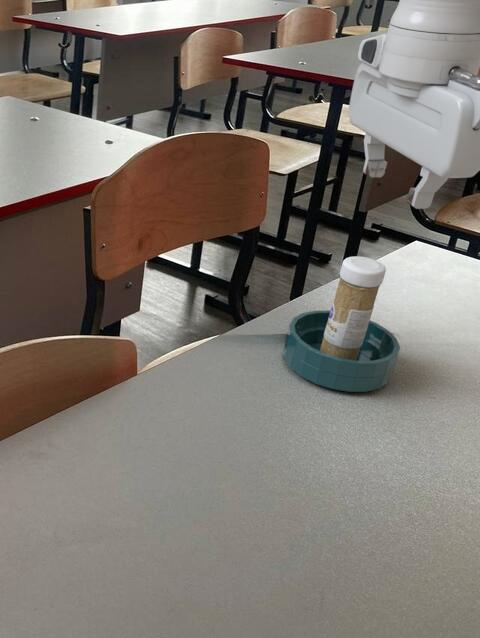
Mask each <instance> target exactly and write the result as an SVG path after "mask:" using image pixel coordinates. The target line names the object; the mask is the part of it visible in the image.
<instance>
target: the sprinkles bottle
mask: <svg viewBox="0 0 480 638" xmlns="http://www.w3.org/2000/svg"><path fill="white" fill-rule="evenodd" d="M386 271H387V269H386V266H385V265H384V264H383V263H382V262H380V261H379V260H376V259H374V258H370V257H366V256H360V255H359V256H357V255H355V256H349V257H346V258H345V259H344V260H343V261H342V263H341V266H340V270H339V282H338V285H337V288H336V292H335V296H334V299H333V302H332V304H331V309H330V310H329V311H330V315H329V319H328V322H327V325H326V329H325V332H324V338H323V341H322V344H321V348H320V351H321V352H323V353H325V354H328V355H331V356H335V357H338V358H342V359H349V360H357V357H358V354H359V351H360V347H361V346H362V343H363V340H364V337H365V334H366V331H367V327H368V324H369V321H371V318H372V314H373V311H374V308H375V307H374V306H375V302H376V300H377V296H378V292H379V290H380V289H379V288H380V287H381V285H382V284H383V282H384V280H385V279H384V278H385V275H386Z"/></svg>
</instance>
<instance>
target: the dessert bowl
mask: <svg viewBox="0 0 480 638" xmlns="http://www.w3.org/2000/svg"><path fill="white" fill-rule="evenodd" d="M330 311H331V310H328V309H327V310H311V311H307V312H306V311H305V312H302V313H300V314H298V315H296V316H294V317H293V318H292V320H291V322H290V323H289V324H288V325H289V326H288V330H287V334H286V338H285V342H284V346H283V349H282V353H283V359H284V361H285V362H286V364H287V365H288V367H289V368H290V369H291V370H293V371H294V372H295V373H296V374H298V375H299V376H300V377H302V378H303V379H306V380H307V381H309V382H311V383H313V384H315V385H318V386H321V387H323V388H326V389H331V390H334V391H340V392H347V393H348V392H349V393H350V392H351V393H353V392H354V393H355V392H356V393H357V392H358V393H361V392H362V393H363V392H370V391H374V390H379V389H381V388H383V387H384V386H386V385H387V384H388V383H389V382H390V379H391V376H392V375H393V370H394V368H395V364H396V361H397V359H398V356H399V353H400V350H401V345H400V343H399V341H398V339H397V337H396V336H395V335H394V334H393V333H392V332H391V331H390V330H388V329H387V328H385V327H384V326H382V325H381V324H379V323H377V322H375V321H374V320H370V321H369V324H368V327H367V331H366V334H365V337H364V340H363V343H362V346H361V347H360V351H359V354H358V357H357V360H349V359H342V358H338V357H335V356H331V355H328V354H325V353H323V352H321V351H320V348H321V344H322V341H323V338H324V332H325V329H326V325H327V322H328V319H329V315H330Z"/></svg>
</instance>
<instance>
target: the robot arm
mask: <svg viewBox="0 0 480 638" xmlns="http://www.w3.org/2000/svg"><path fill="white" fill-rule="evenodd" d="M357 59H358V60H359V61H360V62H361V63H360V64H359V65H358V67H357V70H356V72H355V76H354V80H353V84H352V89H351V94H350V99H349V104H348V117H349V121H350V124H351V125H352V126H354V127H355V128H357V129H359V130H360V131H362V132H364V133H365V134H364V138H363V148H364V156H365V160H364V165H363V170H362V172H363V174H364V175H366V176H368V177H370V178H373V179H374V178H382V177H384V175H385V173H386V169H387V165H388V161H386V160H385V149H386V146H388V147H389V148H391V149H393V150H394V151H396V152H398V153H399V154H401V155H403V156H404V157H406V158H407V159H409V160H411V161H412V162H415V164H418V165H420V166H421V169H420V173H419V176H420V177H422V178H421V179H420V181H419V183H418V184H417V185H416V187H410V188H409V191H408V196H407V198H406V203H407V204H408V205H410V206H412V207H413V208H414V209H416V210H426V209H428V208H430V207H431V206H432V204H433V199H434V196H435V193H437V192H438V190H439V189H440V188H441V187H442V186H443V185H444V184H445V183H446V182H447V181H448V180H449V179H465V178H468V179H469V178H473V177H475V176H476V174H478V173H479V172H480V74H479V70H480V0H399V2H398V4H397V7H396V8H395V10H394V12H393V14H392V16H391V17H390V21H389V25H388V29H387V33H382V34H380V35H379V34H378V35H377V36H373V37H369V38H365V39H363V40H361V41H360V44H359V48H358V51H357Z"/></svg>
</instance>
